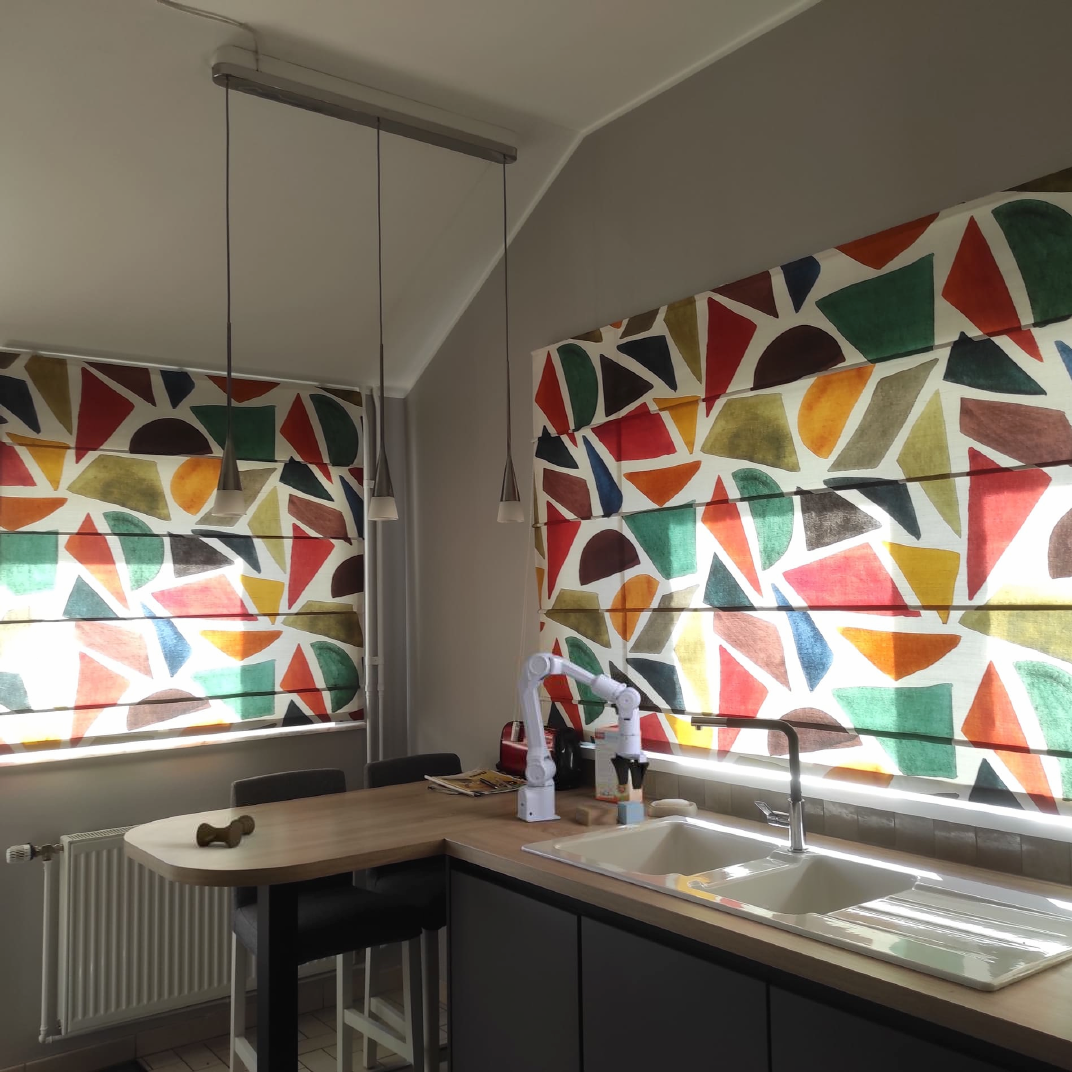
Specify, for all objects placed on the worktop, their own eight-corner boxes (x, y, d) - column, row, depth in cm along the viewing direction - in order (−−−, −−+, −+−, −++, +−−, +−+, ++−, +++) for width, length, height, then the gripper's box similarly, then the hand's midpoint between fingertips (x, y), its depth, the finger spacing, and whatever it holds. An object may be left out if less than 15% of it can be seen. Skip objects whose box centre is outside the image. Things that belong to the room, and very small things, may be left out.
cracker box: (643, 803, 284) (642, 729, 286) (629, 806, 280) (627, 731, 282) (609, 796, 295) (608, 725, 297) (594, 799, 291) (593, 727, 293)
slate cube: (626, 825, 255) (626, 805, 256) (617, 821, 260) (617, 802, 260) (643, 823, 257) (643, 803, 258) (634, 819, 262) (634, 800, 262)
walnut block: (588, 827, 254) (588, 811, 254) (576, 821, 261) (576, 806, 262) (616, 824, 257) (616, 809, 257) (603, 819, 264) (603, 803, 265)
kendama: (264, 836, 248) (223, 853, 229) (229, 836, 250) (185, 853, 231) (264, 812, 249) (223, 826, 230) (229, 812, 251) (186, 826, 232)
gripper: (656, 736, 255) (657, 789, 254) (629, 730, 269) (630, 781, 267) (632, 738, 253) (633, 792, 251) (606, 732, 266) (607, 783, 265)
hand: (630, 786), depth 259 cm, fingers open, 7 cm apart
